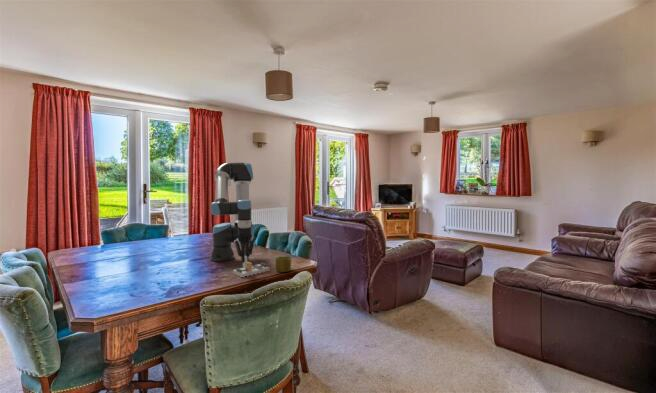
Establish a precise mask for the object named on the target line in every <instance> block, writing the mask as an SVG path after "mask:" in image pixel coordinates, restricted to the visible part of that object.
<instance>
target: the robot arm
mask: <svg viewBox="0 0 656 393" xmlns="http://www.w3.org/2000/svg"><path fill="white" fill-rule="evenodd" d="M213 175H214V180H215V195H214V201H213V202H212V201H211V204H210V212H211V215H213V216H227V215H235V216H236V220H235V221H234V222H233V223H234V224H232V223H230V222H223V223H219V224H218V223H217V224H215V225H214V226H213V227H212V232H211V233H212V250H211V252H210V253H211V254H210V255H209V256H210V260H211V261H213V262H225V261H226V262H228V261H231V260H233V259H234V258H235V254H234V253H235V252H234V250H233V247H232V243H234V245H235V249H236V253H237V256H238V257H240V259H241V263H242V268H247V262H250V261H249V257H250V256H251V255H252V253H253V249H254V245H255V241H256V237H254V234H255V233H254V232H255V224H253V221H252V201H251V200H250V184H251V183H252V181H253V180H254V172H253V168H252V164H251V163H249V162H225V163H223V164H221V165H220V166H218V168H216V170H215V171H214V174H213ZM230 180H232V181H233V184H234V185H235V192H236V193H235V194H236V195H235V199H236V201H229V181H230Z"/></svg>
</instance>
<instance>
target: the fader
mask: <svg viewBox="0 0 656 393" xmlns="http://www.w3.org/2000/svg"><path fill="white" fill-rule="evenodd" d="M252 266H253V263H252V262H251V261H248V262H247V268H245V269H247V270H251V269H252Z"/></svg>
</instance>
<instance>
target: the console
mask: <svg viewBox="0 0 656 393" xmlns="http://www.w3.org/2000/svg"><path fill="white" fill-rule="evenodd" d="M265 271H267V272H270V267H269V266H267V263H264V262H260V263H258V264H254V265H253V264H252V269H251V270H247V269H245V268H243V267H241V268H239V267H236V268H235V269H233V270H232V274H233V273H234V274H233V275H235V274H236V276H237V275H238V277H239V276H240V277H239V278H241V277H243V278H246V277H245V276H247V277H250V276H249V275H251V276H253V275H252V274H255V275H257V274H256V273H259V274H262V273H261V272H263V273H266V272H265Z"/></svg>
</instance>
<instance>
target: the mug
mask: <svg viewBox="0 0 656 393" xmlns="http://www.w3.org/2000/svg"><path fill="white" fill-rule="evenodd" d="M275 268H276V271H278V272H277V273H286V272H287V273H288V272H289V271H290V272H291V271H292V256H287V255H283V256H277V257H275Z"/></svg>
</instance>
